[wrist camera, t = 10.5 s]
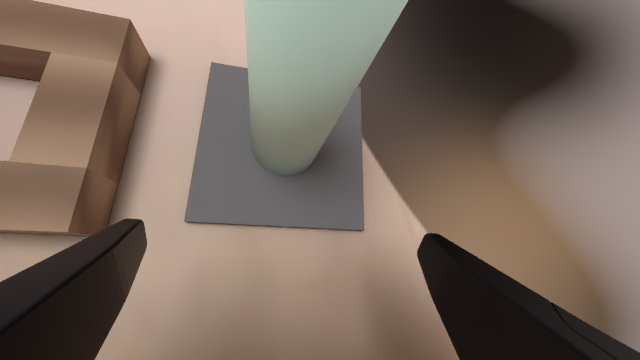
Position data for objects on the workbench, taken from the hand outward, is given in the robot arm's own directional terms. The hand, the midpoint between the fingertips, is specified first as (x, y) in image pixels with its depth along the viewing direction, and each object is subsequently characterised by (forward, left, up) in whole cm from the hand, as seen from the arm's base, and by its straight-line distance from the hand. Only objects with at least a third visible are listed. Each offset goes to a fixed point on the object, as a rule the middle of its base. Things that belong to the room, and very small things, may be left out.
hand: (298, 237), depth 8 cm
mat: (+7, 0, -8) cm, 11 cm away
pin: (+7, 0, -8) cm, 10 cm away
